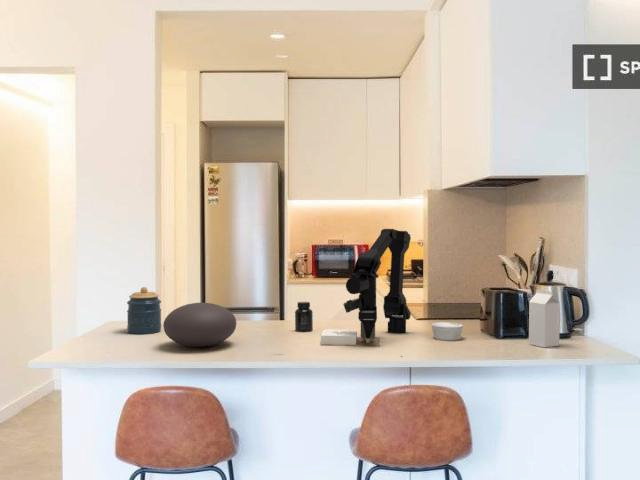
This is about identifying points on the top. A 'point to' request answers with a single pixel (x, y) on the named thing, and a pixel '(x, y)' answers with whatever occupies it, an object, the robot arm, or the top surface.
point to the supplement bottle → (303, 317)
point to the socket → (339, 337)
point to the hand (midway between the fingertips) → (367, 335)
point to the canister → (144, 312)
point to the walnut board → (360, 343)
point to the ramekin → (447, 331)
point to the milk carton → (544, 319)
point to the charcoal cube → (365, 335)
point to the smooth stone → (199, 324)
